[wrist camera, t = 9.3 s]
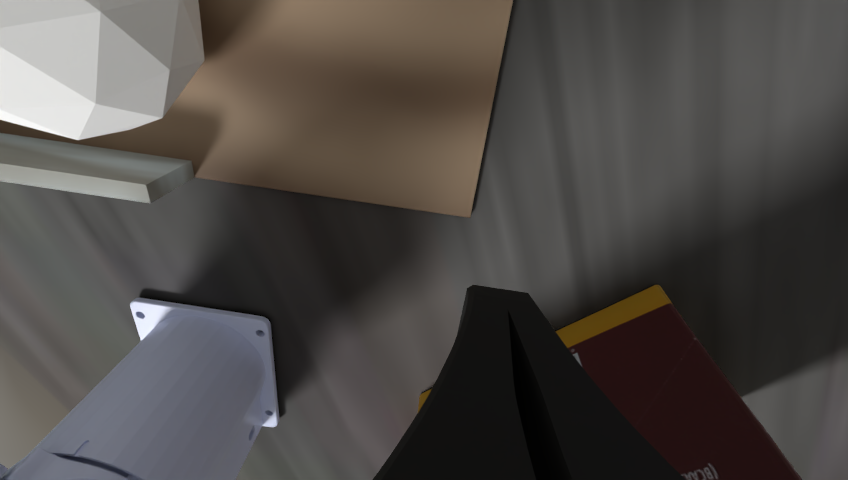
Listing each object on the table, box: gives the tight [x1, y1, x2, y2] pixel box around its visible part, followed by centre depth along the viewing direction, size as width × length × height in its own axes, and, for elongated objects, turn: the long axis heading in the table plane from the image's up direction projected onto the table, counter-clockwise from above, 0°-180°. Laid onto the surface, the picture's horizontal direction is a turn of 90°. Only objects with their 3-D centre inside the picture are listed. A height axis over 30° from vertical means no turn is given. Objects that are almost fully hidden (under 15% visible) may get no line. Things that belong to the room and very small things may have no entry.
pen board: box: [0, 0, 513, 218], centre depth 14 cm, size 13×26×3 cm, turn 83°
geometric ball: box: [0, 0, 205, 140], centre depth 12 cm, size 8×8×8 cm
